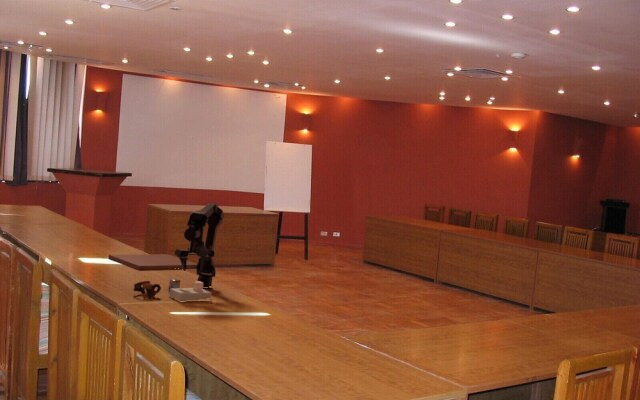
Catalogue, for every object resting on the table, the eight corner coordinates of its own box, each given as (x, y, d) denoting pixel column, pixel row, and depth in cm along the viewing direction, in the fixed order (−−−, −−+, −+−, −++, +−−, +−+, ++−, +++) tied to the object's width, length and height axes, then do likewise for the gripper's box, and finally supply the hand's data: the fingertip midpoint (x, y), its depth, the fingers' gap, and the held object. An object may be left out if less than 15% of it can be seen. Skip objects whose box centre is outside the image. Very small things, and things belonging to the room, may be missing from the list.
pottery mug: (137, 300, 308) (133, 282, 310) (134, 305, 316) (130, 287, 319) (164, 294, 313) (159, 276, 315) (161, 299, 321) (157, 282, 324)
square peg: (197, 298, 326) (200, 281, 326) (201, 299, 324) (203, 282, 323) (191, 298, 324) (193, 281, 324) (195, 299, 322) (197, 282, 321)
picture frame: (108, 259, 399) (138, 271, 376) (108, 254, 399) (139, 265, 376) (167, 259, 428) (199, 269, 405) (168, 254, 428) (200, 264, 405)
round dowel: (175, 291, 335) (177, 278, 335) (180, 293, 331) (182, 281, 331) (166, 291, 332) (167, 278, 332) (171, 293, 328) (172, 281, 328)
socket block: (199, 296, 331) (200, 288, 330) (210, 301, 323) (211, 292, 323) (169, 297, 320) (170, 288, 320) (179, 302, 313) (180, 293, 313)
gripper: (188, 241, 318) (184, 275, 319) (222, 241, 330) (218, 273, 331) (175, 236, 326) (172, 269, 327) (210, 237, 339) (206, 268, 340)
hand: (193, 270), depth 331 cm, fingers open, 9 cm apart
